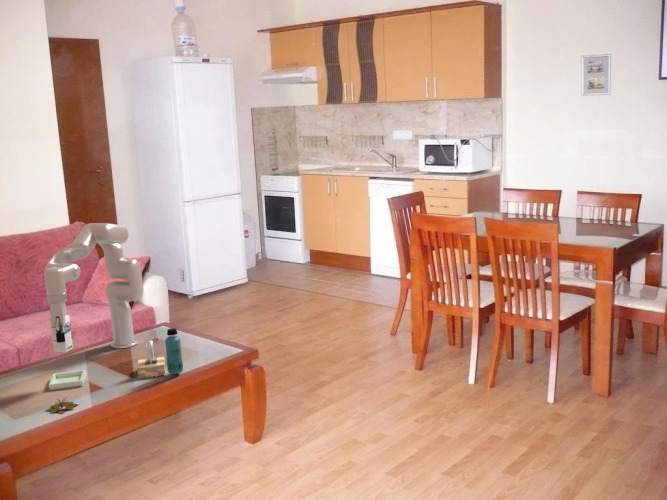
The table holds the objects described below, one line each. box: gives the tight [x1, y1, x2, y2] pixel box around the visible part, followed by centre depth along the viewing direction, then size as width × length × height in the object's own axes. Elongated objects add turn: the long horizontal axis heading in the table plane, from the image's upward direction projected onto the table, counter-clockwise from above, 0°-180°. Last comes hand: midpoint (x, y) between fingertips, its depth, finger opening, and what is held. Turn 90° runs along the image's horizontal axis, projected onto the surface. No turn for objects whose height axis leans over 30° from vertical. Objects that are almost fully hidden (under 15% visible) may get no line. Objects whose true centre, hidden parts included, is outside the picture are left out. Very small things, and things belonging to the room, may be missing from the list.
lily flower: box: [44, 396, 80, 415], centre depth 265 cm, size 12×12×5 cm
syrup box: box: [49, 314, 75, 353], centre depth 286 cm, size 6×6×14 cm
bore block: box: [136, 356, 166, 379], centre depth 297 cm, size 11×11×4 cm
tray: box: [48, 369, 87, 391], centre depth 290 cm, size 13×13×2 cm
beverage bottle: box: [164, 328, 184, 375], centre depth 292 cm, size 6×7×20 cm
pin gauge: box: [144, 339, 155, 365], centre depth 296 cm, size 3×3×14 cm
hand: (62, 338), depth 286 cm, fingers closed on syrup box, 7 cm apart
